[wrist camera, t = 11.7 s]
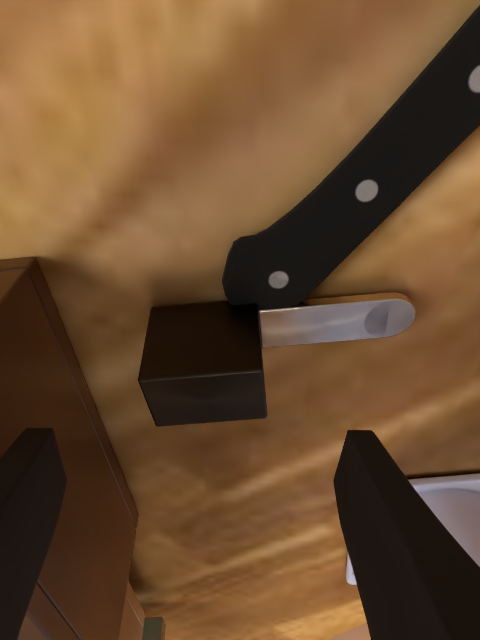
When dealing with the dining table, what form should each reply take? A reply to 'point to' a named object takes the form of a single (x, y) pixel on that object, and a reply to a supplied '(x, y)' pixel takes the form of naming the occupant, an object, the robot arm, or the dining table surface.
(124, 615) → the drawer
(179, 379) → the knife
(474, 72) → the cleaver
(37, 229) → the dining table surface
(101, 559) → the cabinet
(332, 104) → the dining table surface
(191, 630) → the dining table surface
